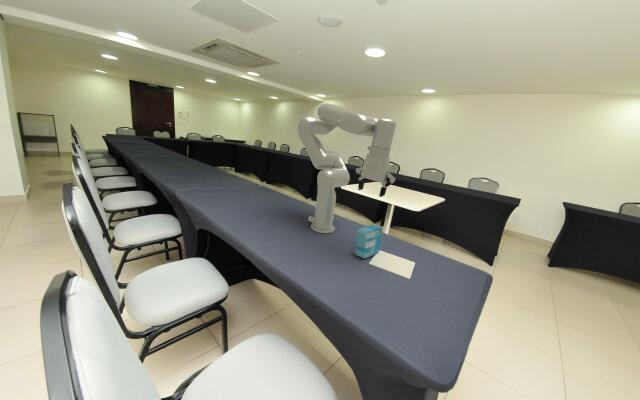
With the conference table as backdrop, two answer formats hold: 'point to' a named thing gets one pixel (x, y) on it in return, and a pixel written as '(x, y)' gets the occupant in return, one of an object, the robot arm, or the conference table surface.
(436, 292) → the conference table surface
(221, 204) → the conference table surface
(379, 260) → the beige mat
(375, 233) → the light blue flat box
